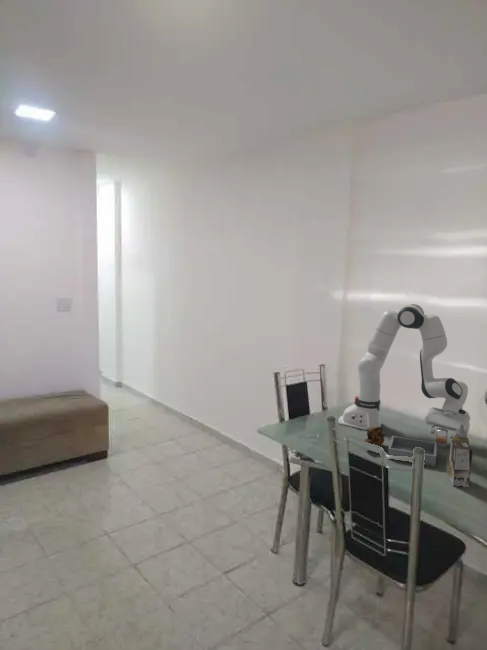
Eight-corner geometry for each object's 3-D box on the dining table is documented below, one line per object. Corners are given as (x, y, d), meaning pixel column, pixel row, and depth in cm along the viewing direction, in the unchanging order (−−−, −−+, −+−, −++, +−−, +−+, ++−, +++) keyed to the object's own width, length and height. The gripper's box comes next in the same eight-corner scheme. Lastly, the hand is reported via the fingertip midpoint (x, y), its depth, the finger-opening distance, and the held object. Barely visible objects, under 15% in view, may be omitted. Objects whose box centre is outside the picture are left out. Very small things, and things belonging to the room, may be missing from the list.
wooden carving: (371, 454, 217) (372, 434, 215) (362, 451, 220) (363, 431, 218) (387, 444, 229) (388, 424, 227) (378, 441, 232) (379, 422, 230)
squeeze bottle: (466, 460, 212) (469, 422, 209) (470, 468, 204) (474, 429, 201) (447, 458, 214) (450, 420, 211) (450, 466, 206) (454, 427, 203)
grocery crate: (387, 458, 212) (388, 448, 212) (391, 445, 227) (392, 435, 226) (435, 467, 205) (436, 456, 204) (436, 452, 219) (436, 442, 218)
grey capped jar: (435, 446, 226) (436, 431, 225) (435, 442, 231) (436, 427, 229) (446, 448, 224) (448, 432, 223) (446, 444, 229) (448, 429, 227)
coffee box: (469, 488, 187) (473, 449, 184) (452, 486, 188) (455, 448, 186) (463, 477, 196) (467, 440, 193) (447, 475, 197) (450, 439, 194)
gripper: (428, 403, 237) (419, 426, 232) (471, 413, 223) (462, 438, 218) (431, 409, 241) (422, 433, 236) (473, 419, 227) (465, 444, 222)
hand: (442, 435), depth 227 cm, fingers open, 8 cm apart
